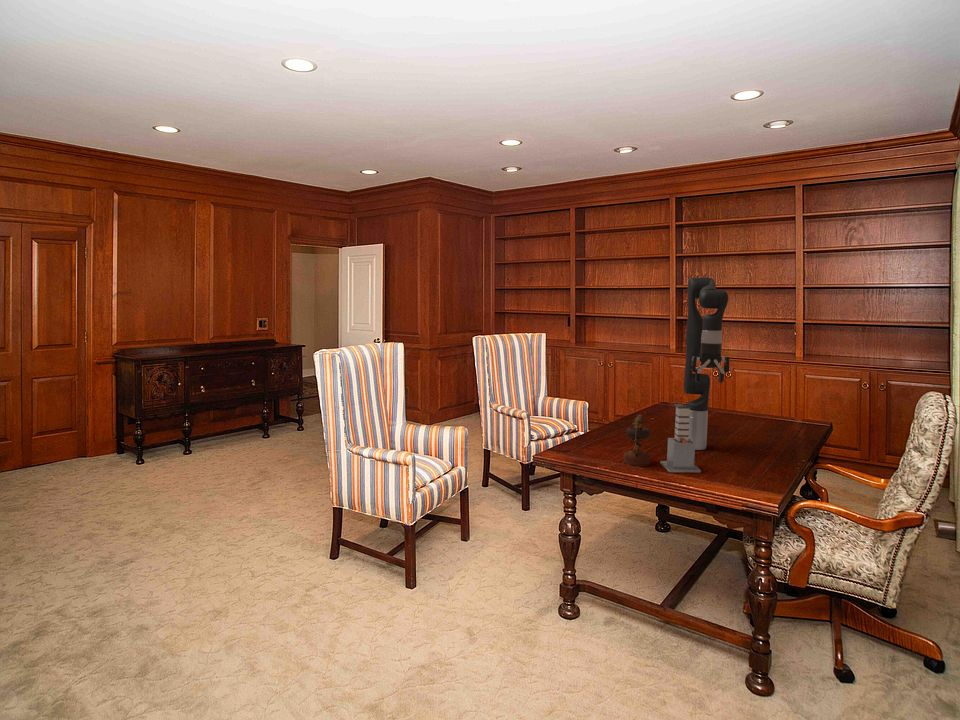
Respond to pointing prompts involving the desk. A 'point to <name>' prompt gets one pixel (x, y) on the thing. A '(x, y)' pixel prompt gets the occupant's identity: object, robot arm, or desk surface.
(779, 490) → the desk surface
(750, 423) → the desk surface
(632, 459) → the brown piece
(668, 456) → the stand
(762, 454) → the desk surface
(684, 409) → the column
